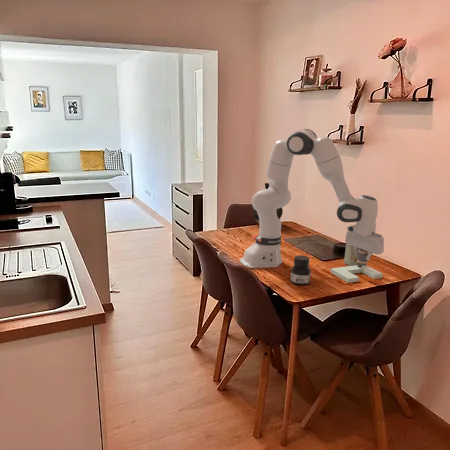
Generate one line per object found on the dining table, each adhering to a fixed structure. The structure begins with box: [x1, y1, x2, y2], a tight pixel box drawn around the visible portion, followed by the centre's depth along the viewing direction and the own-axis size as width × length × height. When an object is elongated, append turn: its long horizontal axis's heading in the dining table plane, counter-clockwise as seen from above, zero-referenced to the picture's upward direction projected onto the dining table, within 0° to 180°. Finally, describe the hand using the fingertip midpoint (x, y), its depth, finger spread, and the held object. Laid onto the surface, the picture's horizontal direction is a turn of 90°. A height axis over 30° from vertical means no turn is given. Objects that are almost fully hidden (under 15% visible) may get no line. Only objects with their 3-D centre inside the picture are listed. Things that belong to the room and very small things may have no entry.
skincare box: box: [343, 244, 358, 266], centre depth 217 cm, size 6×4×12 cm
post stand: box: [329, 264, 383, 283], centre depth 201 cm, size 22×14×18 cm, turn 111°
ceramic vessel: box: [252, 182, 284, 225], centre depth 289 cm, size 21×18×30 cm
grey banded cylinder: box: [356, 248, 369, 266], centre depth 198 cm, size 5×5×8 cm
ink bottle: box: [290, 254, 312, 286], centre depth 191 cm, size 10×9×12 cm
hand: (362, 257), depth 198 cm, fingers closed on grey banded cylinder, 4 cm apart
